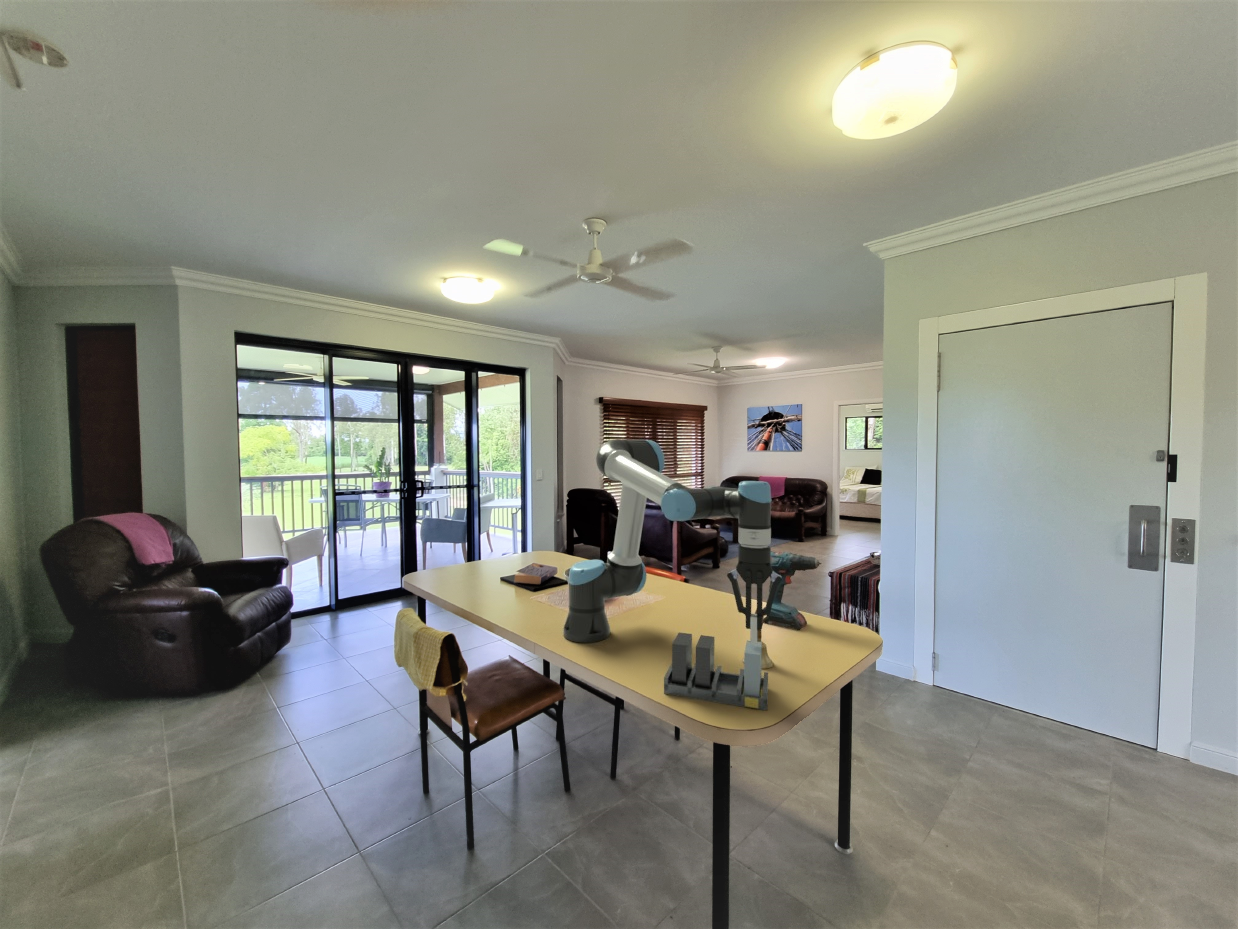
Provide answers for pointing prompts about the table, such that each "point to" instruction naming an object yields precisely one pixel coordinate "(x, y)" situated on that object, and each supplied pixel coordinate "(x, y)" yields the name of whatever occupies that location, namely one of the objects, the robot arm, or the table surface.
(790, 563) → the power drill
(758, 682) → the pale blue block
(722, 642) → the table surface
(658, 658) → the table surface
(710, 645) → the rack
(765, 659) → the hand bell
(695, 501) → the robot arm
